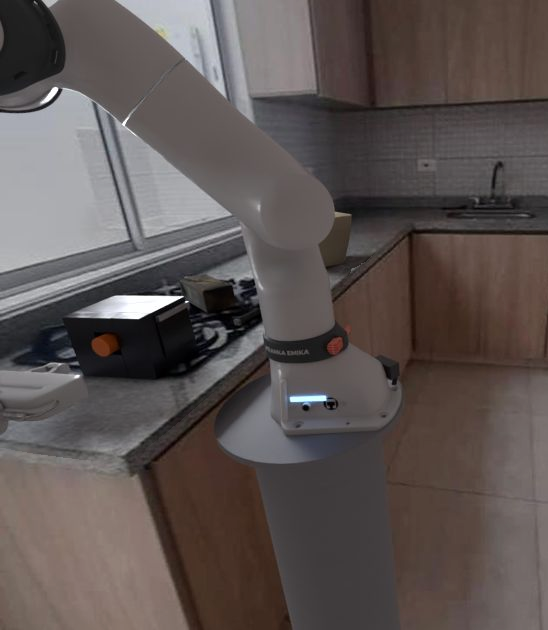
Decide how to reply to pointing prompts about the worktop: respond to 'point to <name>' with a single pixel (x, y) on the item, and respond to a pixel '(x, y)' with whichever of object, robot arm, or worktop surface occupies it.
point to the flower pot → (336, 240)
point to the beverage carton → (207, 293)
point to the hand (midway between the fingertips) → (62, 366)
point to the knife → (247, 316)
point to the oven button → (105, 344)
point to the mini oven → (133, 335)
